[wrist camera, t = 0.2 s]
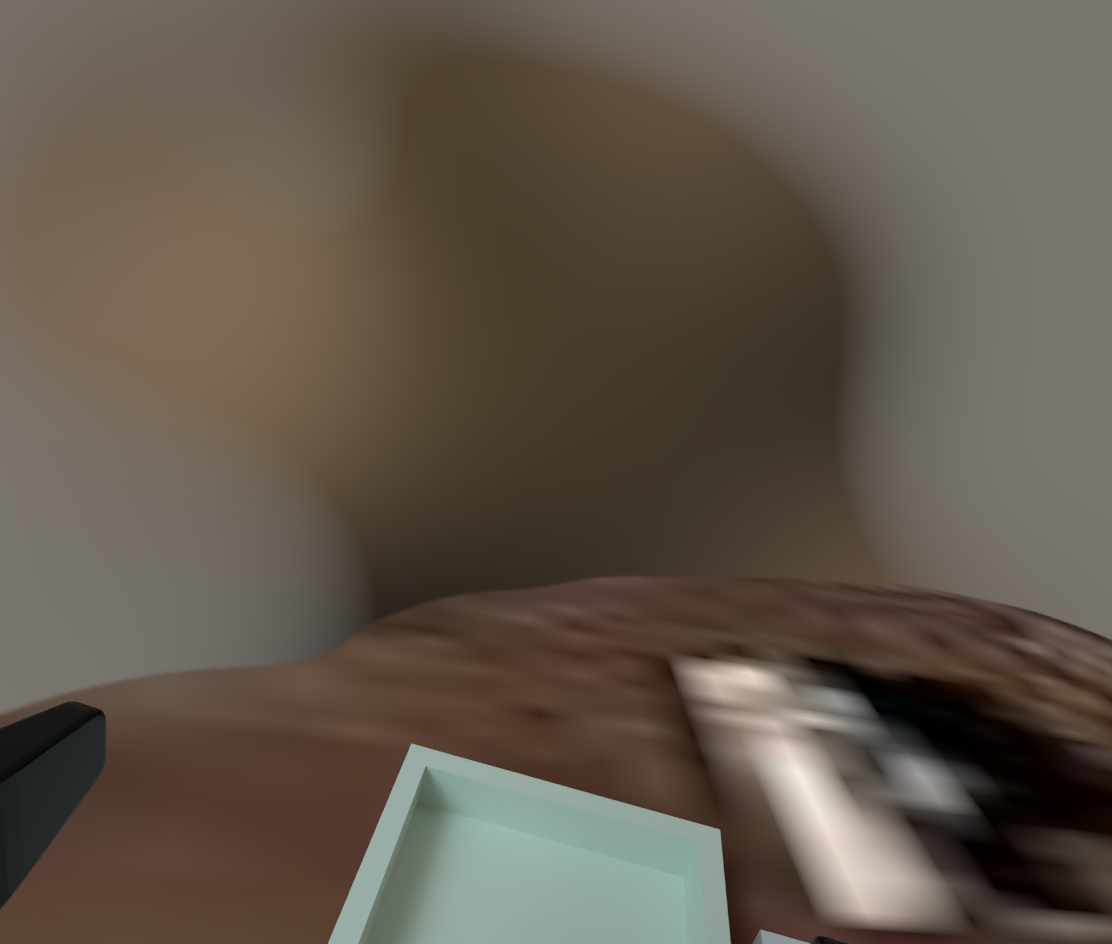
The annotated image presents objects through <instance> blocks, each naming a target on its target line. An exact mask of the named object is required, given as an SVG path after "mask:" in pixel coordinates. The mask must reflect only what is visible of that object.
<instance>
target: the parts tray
mask: <svg viewBox="0 0 1112 944" xmlns="http://www.w3.org/2000/svg"><path fill="white" fill-rule="evenodd" d="M328 944H731V941H730V930H729V919H728V909H727V898H726V888H725V877H724V866H723V856H722V845H721V835H720V830H719V829H716V828H712V827H709V826H705V825H701V824H698V823H694V822H691V821H687V820H683V819H680V818H676V817H673V816H669V815H666V814H662V813H658V812H655V811H651V810H648V809H644V808H640V807H637V806H633V805H630V804H626V803H622V802H619V801H615V800H612V799H608V798H604V797H601V796H597V795H594V794H590V793H587V792H583V791H579V790H576V789H572V788H569V787H565V786H561V785H558V784H554V783H551V782H547V781H543V780H540V779H536V778H533V777H529V776H525V775H522V774H518V773H515V772H511V771H508V770H504V769H500V768H497V767H493V766H490V765H486V764H482V763H479V762H475V761H472V760H468V759H464V758H461V757H457V756H454V755H450V754H446V753H443V752H439V751H436V750H432V749H429V748H425V747H421V746H418V745H414V744H411V746H410V749H409V751H408V753H407V756H406V758H405V760H404V763H403V765H402V768H401V770H400V772H399V775H398V777H397V780H396V782H395V784H394V787H393V789H392V792H391V794H390V796H389V799H388V801H387V804H386V806H385V808H384V811H383V813H382V816H381V818H380V820H379V823H378V825H377V828H376V830H375V832H374V835H373V837H372V840H371V842H370V844H369V847H368V849H367V852H366V854H365V856H364V859H363V861H362V864H361V866H360V868H359V871H358V873H357V875H356V878H355V880H354V883H353V885H352V887H351V890H350V892H349V895H348V897H347V899H346V902H345V904H344V907H343V909H342V911H341V914H340V916H339V919H338V921H337V923H336V926H335V928H334V931H333V933H332V935H331V938H330V940H329V943H328Z"/></svg>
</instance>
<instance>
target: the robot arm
mask: <svg viewBox="0 0 1112 944" xmlns="http://www.w3.org/2000/svg"><path fill="white" fill-rule="evenodd" d="M105 760H106V718H105V715H104V713H103V711H102V710H100V709H98V708H95V707H92V706H89V705H85V704H82V703H79V702H66V703H63V704H60V705H58V706H55V707H53V708H50V709H48V710H45V711H43V712H40V713H38V714H35V715H33V716H30V717H28V718H25V719H23V720H20V721H18V722H15V723H13V724H10V725H8V726H5V727H3V728H0V909H1V908H2V907H3V906H4V905H5V903H6V902H7V901H8V900H9V899H10V897H11V896H12V895H13V893H14V892H15V891H16V890H17V888H18V887H19V886H20V884H21V883H22V882H23V880H24V879H25V878H26V876H27V875H28V874H29V872H30V871H31V870H32V868H33V867H34V865H35V864H36V863H37V861H38V860H39V859H40V857H41V856H42V854H43V853H44V852H45V850H46V849H47V848H48V846H49V845H50V843H51V842H52V841H53V839H54V838H55V837H56V835H57V834H58V832H59V831H60V830H61V828H62V827H63V826H64V824H65V823H66V821H67V820H68V819H69V817H70V816H71V815H72V813H73V812H74V810H75V809H76V808H77V806H78V805H79V804H80V802H81V801H82V799H83V798H84V797H85V795H86V794H87V793H88V791H89V790H90V788H91V787H92V786H93V784H94V783H95V782H96V780H97V779H98V777H99V775H100V774H101V772H102V770H103V767H104V764H105ZM811 944H847V943H845V942H842V941H838V940H835V939H832V938H829V937H826V936H818V937H816V938H814V940H813V941H812V942H811Z"/></svg>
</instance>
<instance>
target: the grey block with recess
mask: <svg viewBox="0 0 1112 944" xmlns="http://www.w3.org/2000/svg"><path fill="white" fill-rule="evenodd" d="M752 944H810V943H807V942H803V941H800V940H796V939H792V938H789V937H785V936H782V935H778V934H775V933H771V932H768V931H764V930H760V931H759V933H758V935H757V936H756V938H755V940H754V942H753V943H752Z"/></svg>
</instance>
